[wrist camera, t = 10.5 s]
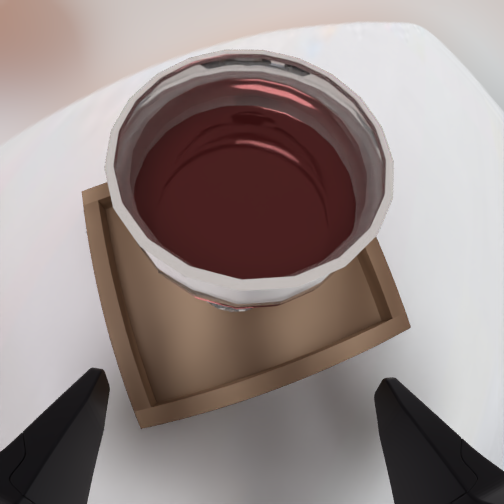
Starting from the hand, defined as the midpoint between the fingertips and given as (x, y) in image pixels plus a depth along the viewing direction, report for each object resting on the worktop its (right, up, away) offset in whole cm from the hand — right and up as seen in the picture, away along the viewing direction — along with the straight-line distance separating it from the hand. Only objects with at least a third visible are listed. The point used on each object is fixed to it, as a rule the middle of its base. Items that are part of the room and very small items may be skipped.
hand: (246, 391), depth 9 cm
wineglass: (-1, +3, +9) cm, 10 cm away
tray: (-1, +3, +10) cm, 10 cm away
